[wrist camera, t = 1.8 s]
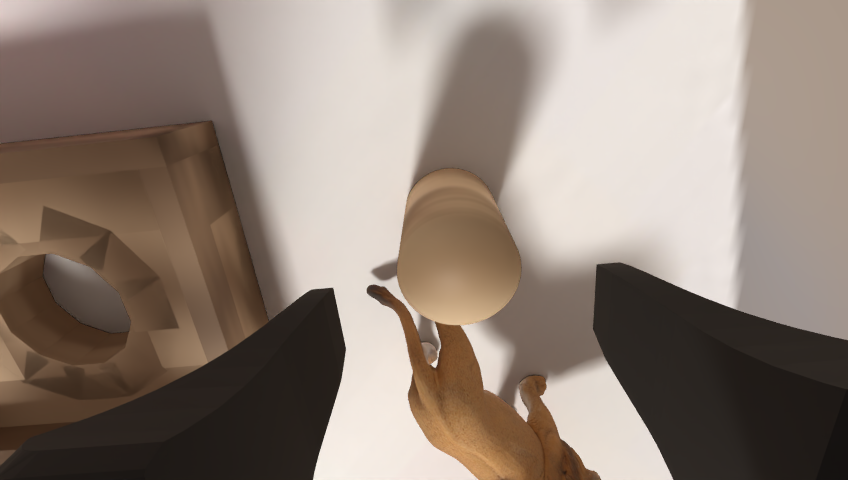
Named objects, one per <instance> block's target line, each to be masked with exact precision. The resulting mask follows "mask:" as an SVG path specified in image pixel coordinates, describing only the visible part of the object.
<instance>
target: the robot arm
mask: <svg viewBox="0 0 848 480" xmlns="http://www.w3.org/2000/svg"><path fill="white" fill-rule="evenodd" d="M593 330H594V332H595V335H596V337H597V340H598V342H599V345H600V347H601V349H602V351H603V354H604V356H605V358H606V360H607V362H608V364H609V365H610V367H611V369H612V371H613V372H614V374H615V376H616V377H617V379H618V381H619V382H620V384H621V386H622V387H623V389H624V390H625V392H626V394H627V395H628V397H629V399H630V400H631V402H632V404H633V405H634V407H635V408H636V410H637V412H638V413H639V415H640V417H641V418H642V420H643V422H644V423H645V425H646V426H647V428H648V430H649V432H650V433H651V435H652V437H653V439H654V441H655V442H656V444H657V446H658V448H659V450H660V452H661V454H662V456H663V458H664V461H665V463H666V465H667V467H668V469H669V471H670V473H671V475H672V477H673V480H848V340H844V339H839V338H834V337H830V336H826V335H822V334H818V333H814V332H810V331H806V330H802V329H797V328H794V327H790V326H787V325H783V324H779V323H776V322H773V321H769V320H766V319H763V318H760V317H756V316H753V315H750V314H747V313H744V312H741V311H738V310H735V309H732V308H730V307H727V306H724V305H722V304H719V303H717V302H714V301H711V300H709V299H706V298H704V297H701V296H699V295H696V294H694V293H691V292H689V291H687V290H684V289H682V288H680V287H677V286H675V285H673V284H671V283H668V282H666V281H664V280H662V279H659V278H657V277H655V276H653V275H650V274H648V273H646V272H644V271H641V270H639V269H636V268H634V267H632V266H629V265H626V264H623V263H609V264H598V265H597V268H596V286H595V304H594V323H593ZM345 352H346V347H345V342H344V337H343V333H342V328H341V323H340V318H339V314H338V309H337V304H336V299H335V295H334V290H333V288H325V289H314V290H310V291H309V292H307V293H306V294H304V295H303V296H301V297H300V298H299V299H297V300H296V301H295V302H294V303H292V304H291V305H290V306H288V307H287V308H286V309H285V310H283V311H282V312H281V313H280V314H278V315H277V316H276V317H274V318H273V319H272V320H271V321H269V322H268V323H267V324H265V325H264V326H263V327H261V328H260V329H258V330H257V331H256V332H254V333H253V334H251V335H250V336H249V337H247V338H246V339H244V340H243V341H242V342H240V343H239V344H237V345H236V346H234V347H233V348H231V349H230V350H228V351H227V352H225V353H224V354H222V355H220V356H219V357H217V358H215V359H214V360H212V361H210V362H209V363H207V364H205V365H203V366H202V367H200V368H198V369H196V370H195V371H193V372H191V373H189V374H187V375H185V376H183V377H181V378H179V379H177V380H175V381H173V382H171V383H169V384H167V385H165V386H163V387H161V388H159V389H157V390H155V391H152V392H150V393H148V394H146V395H143V396H141V397H139V398H137V399H134V400H132V401H130V402H127V403H125V404H122V405H120V406H117V407H115V408H112V409H110V410H107V411H105V412H102V413H100V414H97V415H94V416H92V417H89V418H86V419H83V420H80V421H77V422H74V423H71V424H69V425H66V426H63V427H60V428H57V429H54V430H51V431H48V432H45V433H42V434H39V435H36V436H33V437H30V438H29V439H27V440H26V441H25V442H24V443H23V444H22V445H21V446H20V447H19V448H18V449H17V450H16V451H15V452H14V453H13V454H12V455H11V456H10V457H9V458H8V459H7V460H6V461H5V462H4V463H3V464H1V465H0V480H313V477H314V471H315V467H316V463H317V459H318V456H319V452H320V449H321V445H322V442H323V439H324V435H325V432H326V429H327V426H328V422H329V419H330V416H331V413H332V409H333V406H334V403H335V399H336V396H337V393H338V389H339V386H340V382H341V378H342V372H343V366H344V359H345Z"/></svg>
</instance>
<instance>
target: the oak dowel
mask: <svg viewBox="0 0 848 480" xmlns="http://www.w3.org/2000/svg"><path fill="white" fill-rule="evenodd" d="M520 277H521V259H520V255H519V252H518V249H517V247H516V245H515V242H514V240H513V238H512V236H511V234H510V232H509V230H508V228H507V226H506V224H505V221H504V219H503V217H502V215H501V213H500V211H499V209H498V207H497V205H496V203H495V200H494V198H493V196H492V194H491V192H490V190H489V189H488V187H487V186H486V184H485V183H484V182H483V181H482V180H481V179H480V178H478V177H477V176H476V175H474V174H472V173H470V172H468V171H465V170H461V169H455V168H446V169H440V170H437V171H434V172H431V173H429V174H428V175H426V176H424V177H423V178H422V179H420V180H419V181H418V182H417V183H416V184H415V186H414V187H413V188H412V190H411V192H410V194H409V196H408V199H407V203H406V208H405V215H404V222H403V229H402V236H401V243H400V250H399V257H398V263H397V279H398V283H399V287H400V289H401V292H402V294H403V296H404V298H405V299H406V300H407V302H408V303H409V304H410V305H411V306H412V307H413V309H415V310H416V311H417V312H418V313H420V314H421V315H423V316H424V317H426V318H428V319H430V320H432V321H435V322H438V323H442V324H447V325H467V324H473V323H477V322H480V321H482V320H485V319H487V318H489V317H491V316H493V315H494V314H496V313H497V312H499V311H500V310H501V309H502V308H503V307H505V305H506V304H507V303H508V302H509V301H510V300H511V298H512V297H513V295H514V293H515V292H516V290H517V287H518V284H519V282H520Z"/></svg>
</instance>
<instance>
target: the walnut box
mask: <svg viewBox="0 0 848 480" xmlns="http://www.w3.org/2000/svg"><path fill="white" fill-rule="evenodd" d="M51 253H53V254H56V255H58V256H61V257H64V258H67V259H69V260H72V261H75V262H78V263H81V264H83V265H86V266H89V267H91V268H92V269H93V270H94V271H95V272H96V273H97V274H98V275H100V276H101V277H102V278H103V279H104V280H105V281H106V282H107V283H109V284H110V285H111V286H112V287H113V288H114V289H115V290H116V291H118V292H119V295H120V297H121V299H122V302H123V304H124V307H125V309H126V311H127V314H128V316H129V318H130V321H131V324H130V329H129V332H123V333H112V334H110V333H107V332H104V331H101V330H98V329H95V328H92V327H89V326H86V325H83V324H80V323H79V322H78V321H77V320H76V319H74V318H73V317H72V316H71V315H70V314H68V313H67V312H66V311H65V310H64V309H62V308H61V307H60V306H59V305H57V304H56V303H55V301H54V299H53V297H52V295H51V293H50V291H49V289H48V287H47V285H46V283H45V280H44V278H43V268H44V260H45V254H51ZM268 322H269V320H268V317H267V313H266V310H265V306H264V303H263V299H262V296H261V292H260V289H259V285H258V282H257V278H256V275H255V271H254V268H253V264H252V260H251V257H250V253H249V250H248V246H247V243H246V239H245V236H244V232H243V229H242V225H241V222H240V218H239V215H238V211H237V208H236V204H235V200H234V197H233V193H232V190H231V186H230V183H229V179H228V176H227V172H226V169H225V165H224V162H223V158H222V155H221V151H220V148H219V144H218V140H217V137H216V133H215V130H214V126H213V123H212V121H205V122H196V123H186V124H177V125H168V126H159V127H150V128H140V129H131V130H122V131H113V132H104V133H94V134H85V135H76V136H67V137H58V138H48V139H39V140H30V141H21V142H12V143H2V144H0V465H1V464H3V463H4V462H5V461H6V460H7V459H8V458H9V457H10V456H11V455H12V454H13V453H14V452H15V451H16V450H17V449H18V448H19V447H20V446H21V445H22V444H23V443H24V442H25V441H26V440H27V439H29V438H30V437H33V436H36V435H39V434H42V433H45V432H48V431H51V430H54V429H57V428H60V427H63V426H66V425H69V424H71V423H74V422H77V421H80V420H83V419H86V418H89V417H92V416H94V415H97V414H100V413H102V412H105V411H107V410H110V409H112V408H115V407H117V406H120V405H122V404H125V403H127V402H130V401H132V400H134V399H137V398H139V397H141V396H143V395H146V394H148V393H150V392H152V391H155V390H157V389H159V388H161V387H163V386H165V385H167V384H169V383H171V382H173V381H175V380H177V379H179V378H181V377H183V376H185V375H187V374H189V373H191V372H193V371H195V370H196V369H198V368H200V367H202V366H203V365H205V364H207V363H209V362H210V361H212V360H214V359H215V358H217V357H219V356H220V355H222V354H224V353H225V352H227V351H228V350H230V349H231V348H233V347H234V346H236V345H237V344H239V343H240V342H242V341H243V340H244V339H246V338H247V337H249V336H250V335H251V334H253V333H254V332H256V331H257V330H258V329H260V328H261V327H263V326H264V325H265V324H267V323H268Z"/></svg>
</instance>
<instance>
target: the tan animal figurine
mask: <svg viewBox="0 0 848 480" xmlns="http://www.w3.org/2000/svg"><path fill="white" fill-rule="evenodd" d="M367 294H368V295H370V296H371V297H373V298H375V299H376V300H378V301H379V302H380V303H381V304H382V305H385V306H388V307H390V308H392V309H393V310H394V311H395V312H396V313H397V314H398V316H399V318H400V321H401V324H402V327H403V330H404V333H405V338H406V342H407V347H408V353H409V358H410V362H411V366H412V369H413V375H412V381H411V386H410V389H409V392H408V400H409V404H410V408H411V411H412V414H413V416H414V418H415V419H416V421H417V423H418V424H419V426H420V428H421V429H422V431H423V432H424V434H425V436H426V438H427V439H428V441H429V442H430V443H431V444H432V445H433V446H434V447H436V448H437V449H439V450H441V451H443V452H445V453H446V454H448V455H450V456H452V457H454V458H455V459H457V460H458V461H459V462H461V463H462V464H463V465H464V466H465V467H466V468H467V469H468V470H469V471H470V472H471V473H472V474H473V475H474V476H475V477H477V478H478V479H479V480H601V479H600V476H599V475H598V474H597V472H595V471H590V470H588V469H586V468H585V466H584V465H583V462H582V460H581V459H580V457H579V455H578V454H577V453H576V452H575V451H574V449H573V448H571V447H570V446H569V445H568V444H567V443H566V442H565V441H563V440H561V439H560V437H559V433H558V430H557V427H556V425H555V422H554V420H553V418H552V415H551V413H550V412H549V410H548V409H547V407H546V406H545V405H544V403H543V402H542V400H541V398H540V396H541V395H543V394H544V391H545V390H546V383H545V379H544V377H541V376H528V377H526V378H525V379H524V380H522V381H521V382H520V384H519V390H520V396H521V399H522V401H523V403H524V404H525V406H526V407H527V409H528V412H529V414H528V419H527V423H526V422H525V421H524V420H523V418H522V417H521V416H520V415H519V414H518V413H517V412H516V411H515V410H514V409H513V408H512V407H511V406H509V405H508V404H507V403H506V402H504V401H503V400H502V399H501V398H499V397H498V396H496V395H495V394H493V393H491V392H489V391H487V390H483V382H482V377H481V371H480V367H479V364H478V361H477V359H476V356H475V354H474V351H473V348H472V346H471V344H470V341H469V340H468V338H467V336H466V334H465V332H464V331H463V329H462V328H461V326H460V325H447V324H442V323H438V322H435V324H436V327H437V330H438V334H439V338H440V342H441V349H440V351H439V358H438V365H437V367H436V368H434V367H433V366H432V365H430V364H431V363H433V362H434V361H435V360H436V359H437V350H436V348H435V347H434V346H433V345H432V344H431V343H428V342H424V343H421V341H420V337H419V334H418V331H417V329H416V326H415V324H414V321H413V318H412V316H411V314H410V312H409V311H408V309H407V308H406V306H405V305H404V304H403V303H402V302H401V301H400V300H398V299H397V298H395V297H394V296H393V295H392V294H391V293H390V292H389V291H388V290H387V289H386V288H385V287H380V286H377V285H370V286H369V287H368V288H367Z"/></svg>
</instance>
